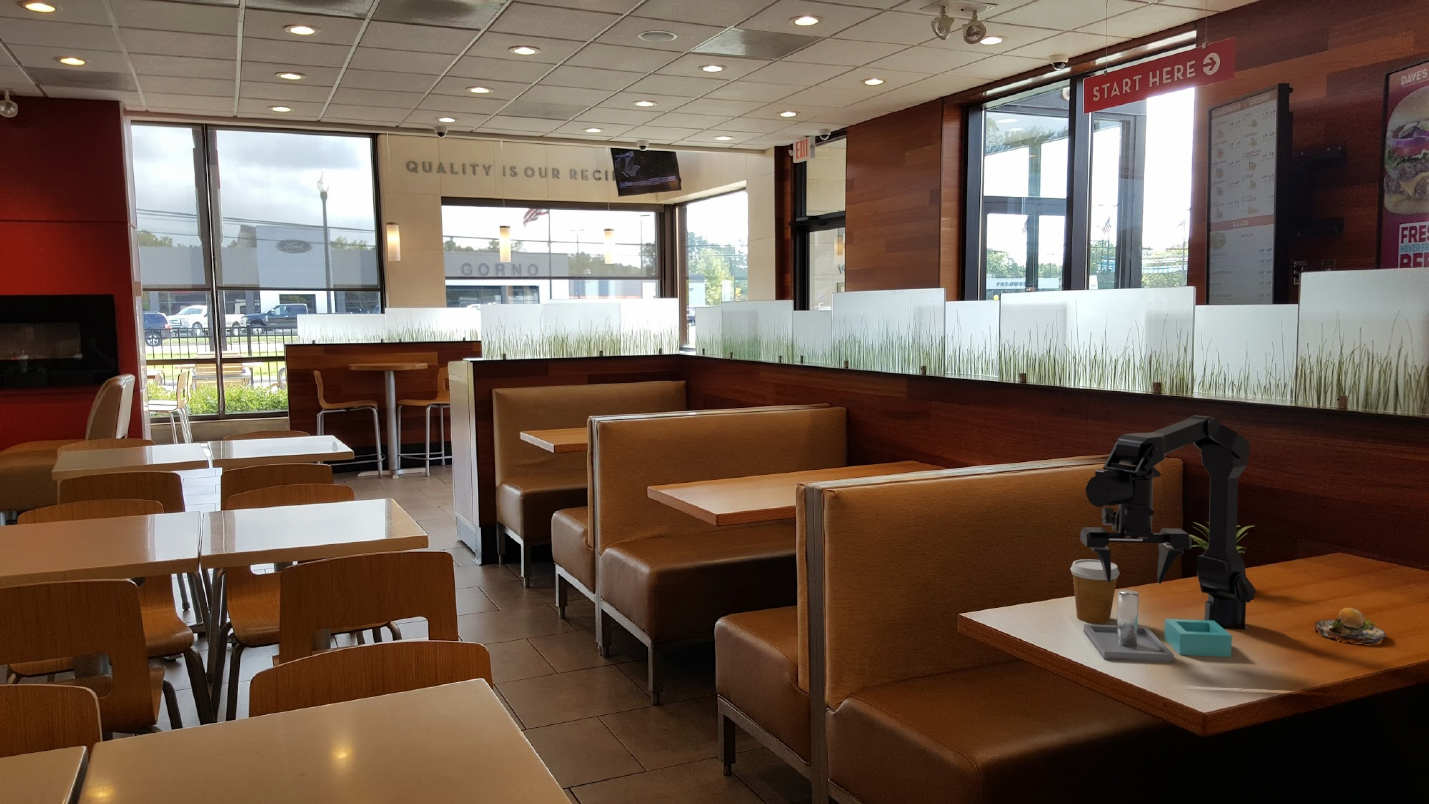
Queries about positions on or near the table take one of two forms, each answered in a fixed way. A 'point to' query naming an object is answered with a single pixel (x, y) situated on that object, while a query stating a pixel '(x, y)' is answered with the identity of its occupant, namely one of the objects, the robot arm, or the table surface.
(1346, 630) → the burger
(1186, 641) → the teal square open box
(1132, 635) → the steel pin
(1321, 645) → the table surface
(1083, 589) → the disposable coffee cup
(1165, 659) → the charcoal tray
